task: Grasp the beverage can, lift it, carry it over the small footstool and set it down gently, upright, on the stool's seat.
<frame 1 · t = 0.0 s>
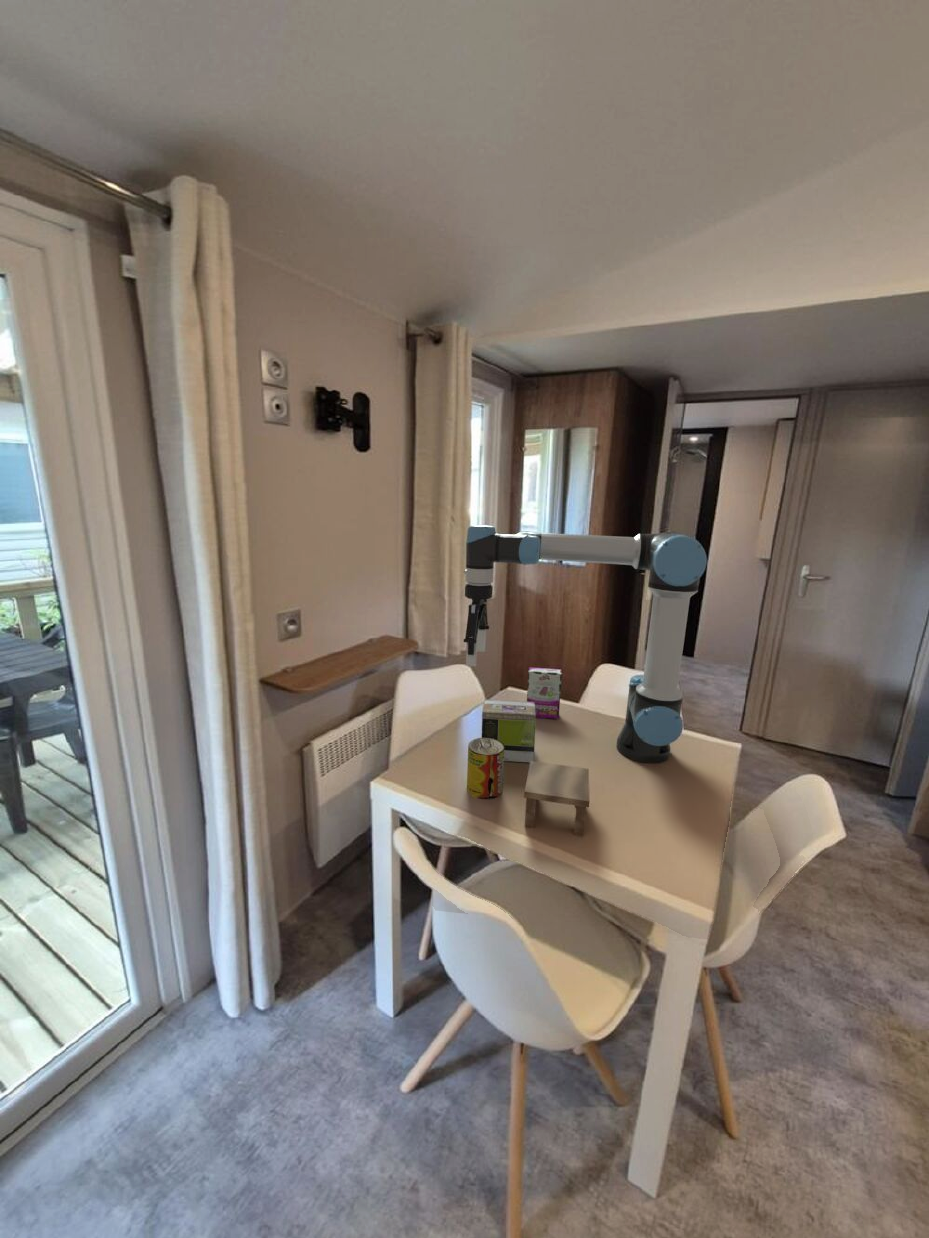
hand: (476, 658, 143), 28 cm above the table, fingers open, 13 cm apart
beverage can: (484, 789, 129), on the table
tea box: (506, 754, 147), on the table
candy bar box: (542, 716, 174), on the table
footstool: (555, 814, 120), on the table
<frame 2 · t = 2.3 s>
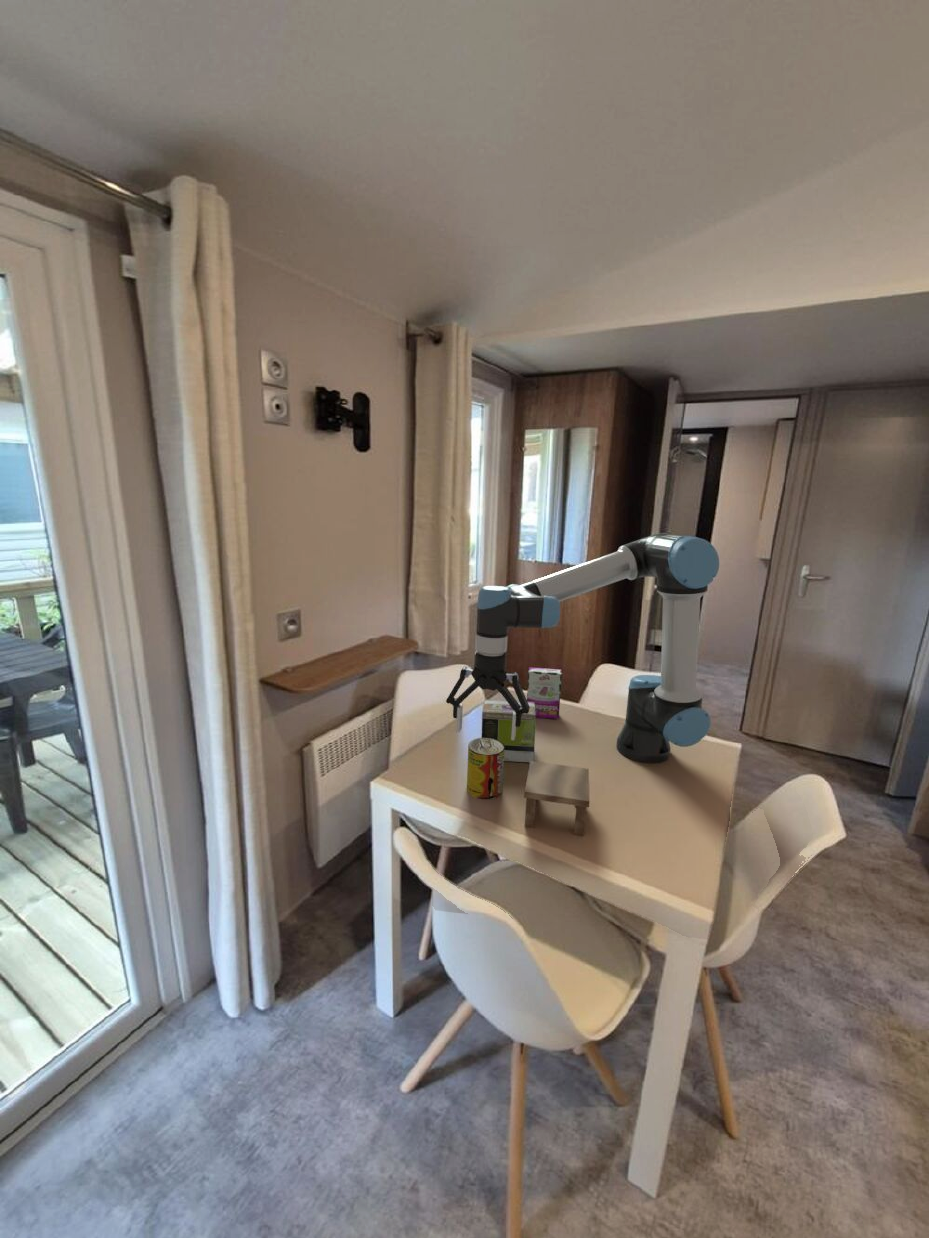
hand: (485, 734, 125), 15 cm above the table, fingers open, 13 cm apart
nothing on the table moved.
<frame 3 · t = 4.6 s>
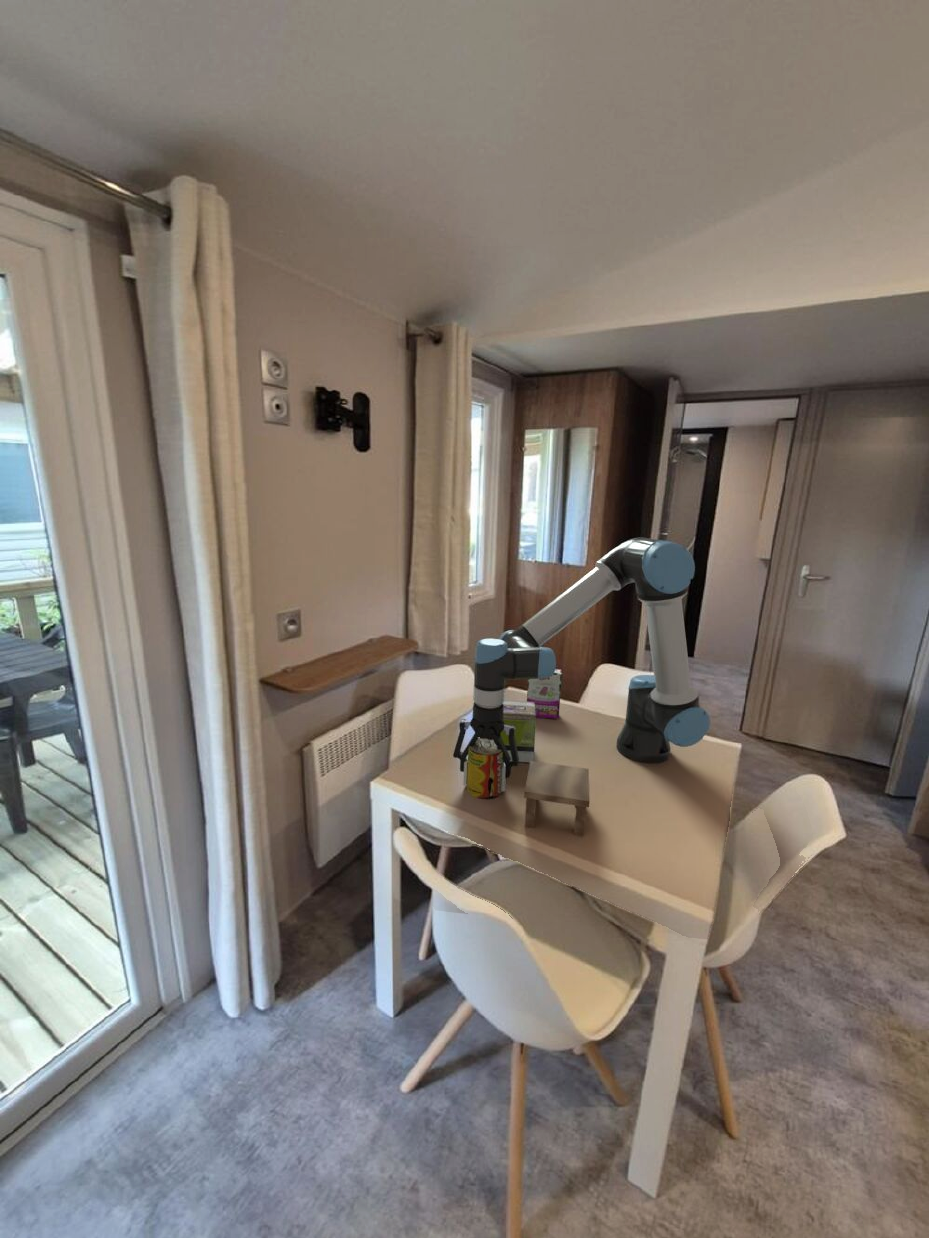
hand: (484, 785, 129), 1 cm above the table, fingers closed on beverage can, 9 cm apart
beverage can: (484, 789, 129), on the table, touching gripper
everything else where it was.
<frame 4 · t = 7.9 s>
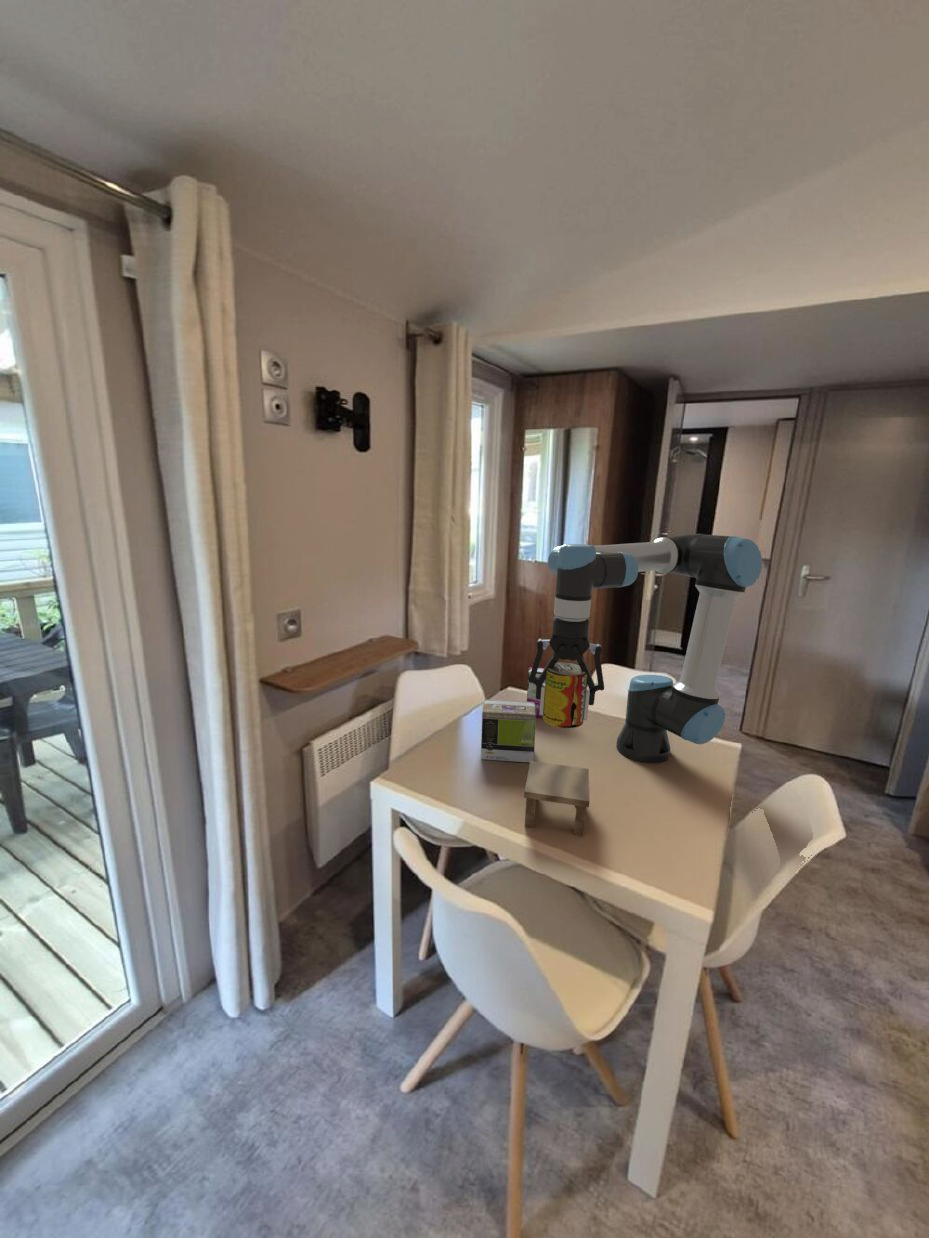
hand: (563, 715, 114), 25 cm above the table, fingers closed on beverage can, 9 cm apart
beverage can: (562, 720, 114), point 24 cm above the table, touching gripper
everything else where it was.
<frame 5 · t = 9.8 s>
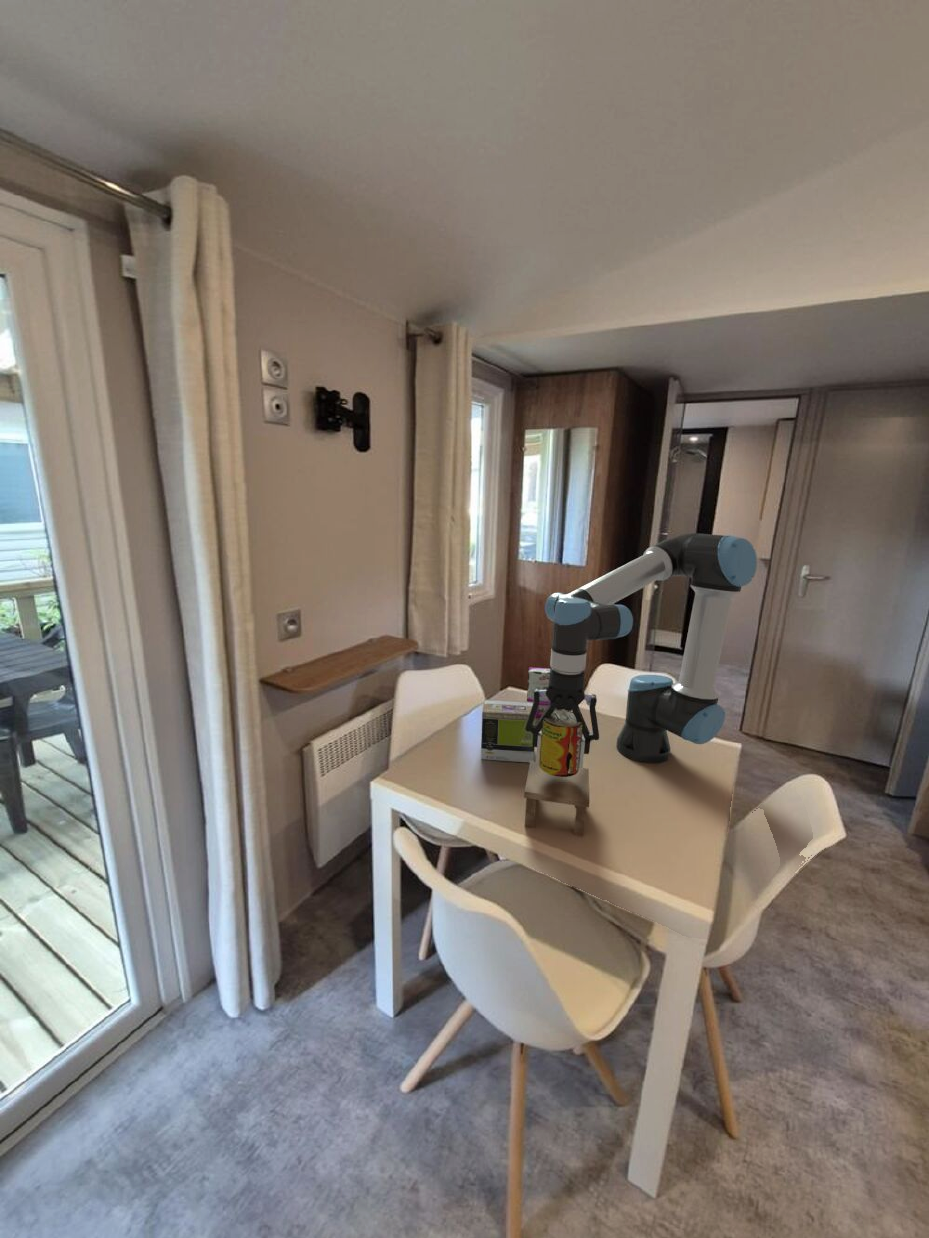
hand: (559, 762, 116), 13 cm above the table, fingers closed on beverage can, 9 cm apart
beverage can: (558, 767, 117), point 12 cm above the table, touching gripper
everything else where it was.
when the fingers open (11 cm above the table, at t = 11.3 s): beverage can stays where it is, resting on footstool.
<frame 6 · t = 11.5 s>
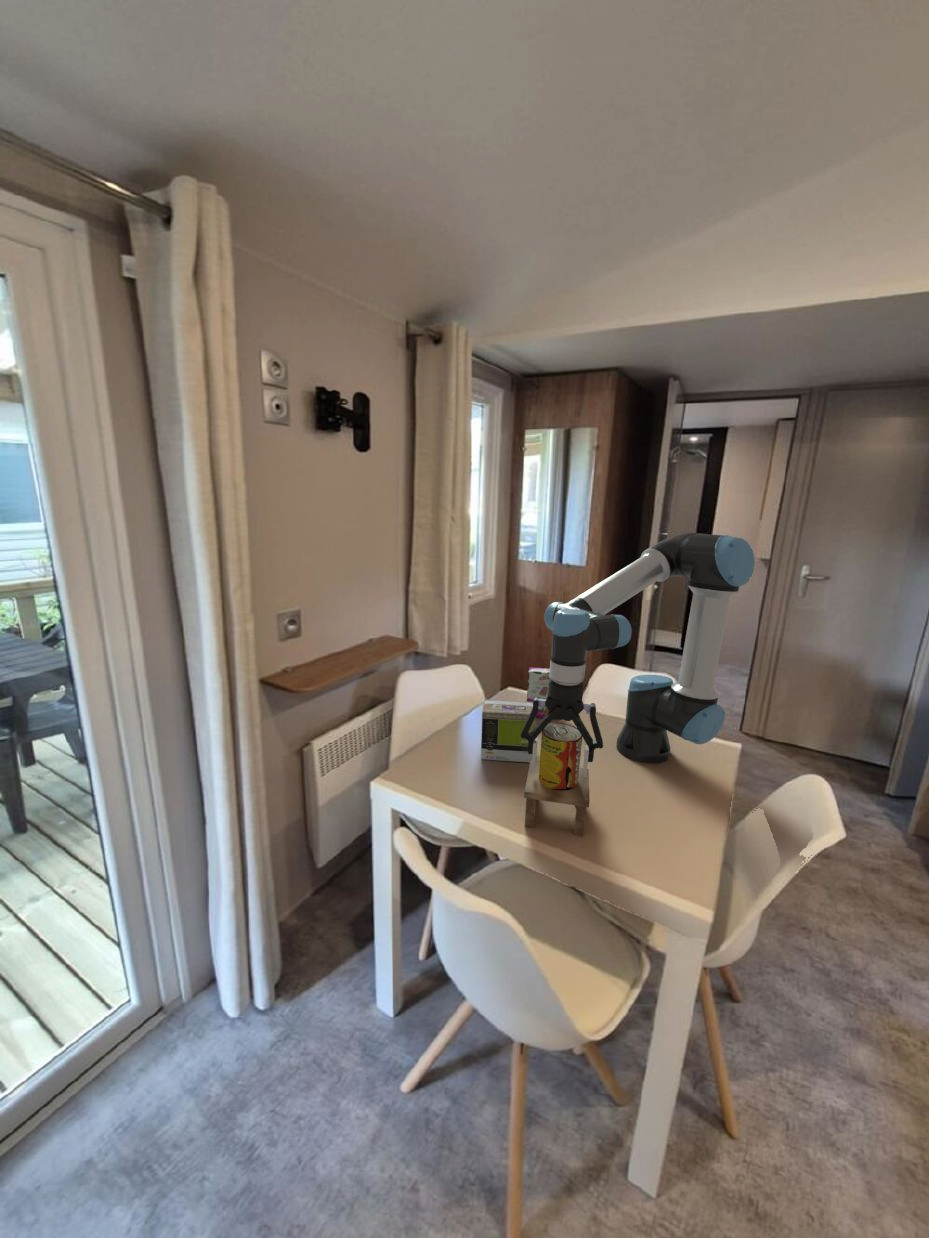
hand: (558, 769, 117), 11 cm above the table, fingers open, 11 cm apart
beverage can: (558, 780, 118), point 9 cm above the table, touching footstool
everything else where it was.
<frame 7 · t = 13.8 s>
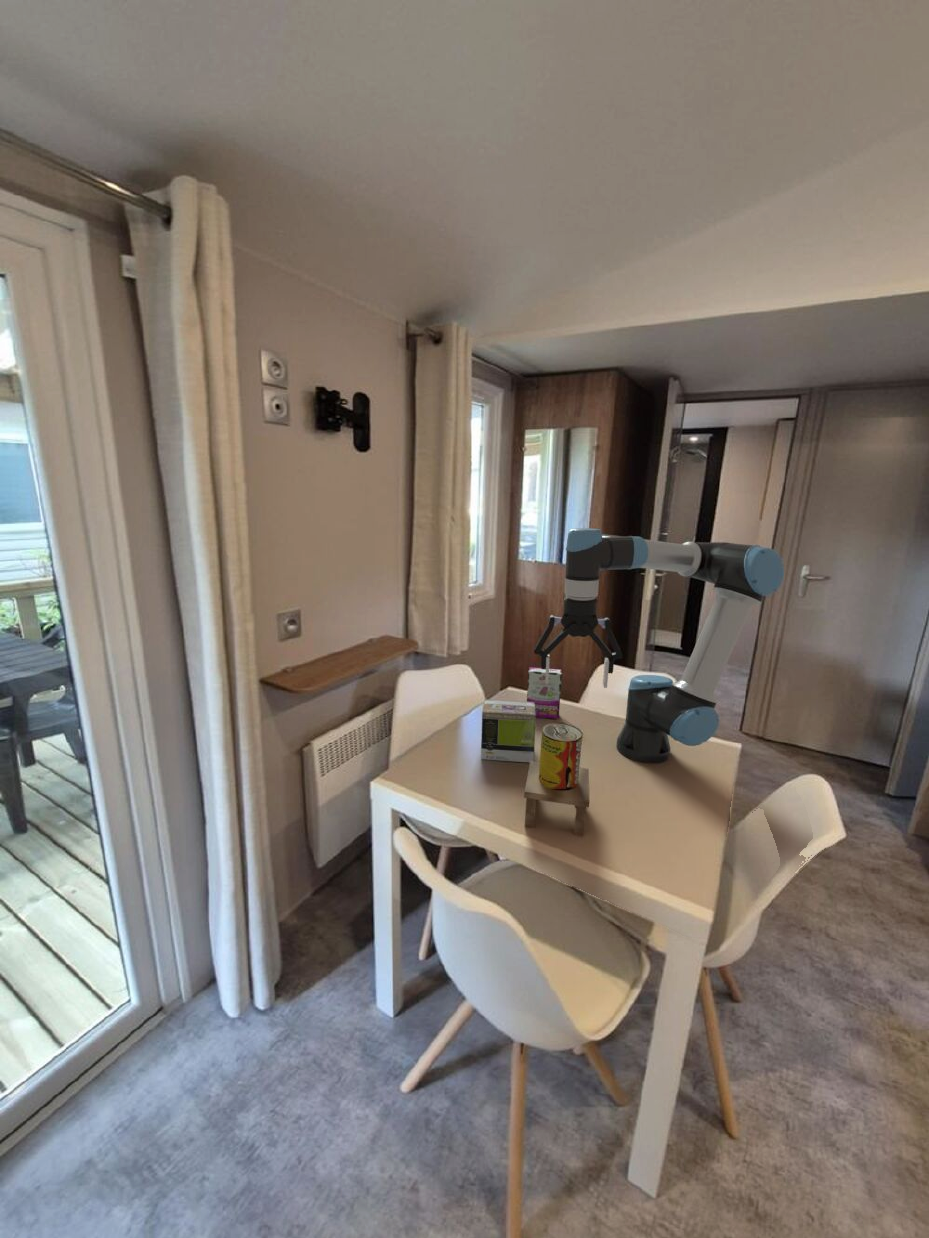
hand: (575, 683, 122), 29 cm above the table, fingers open, 13 cm apart
nothing on the table moved.
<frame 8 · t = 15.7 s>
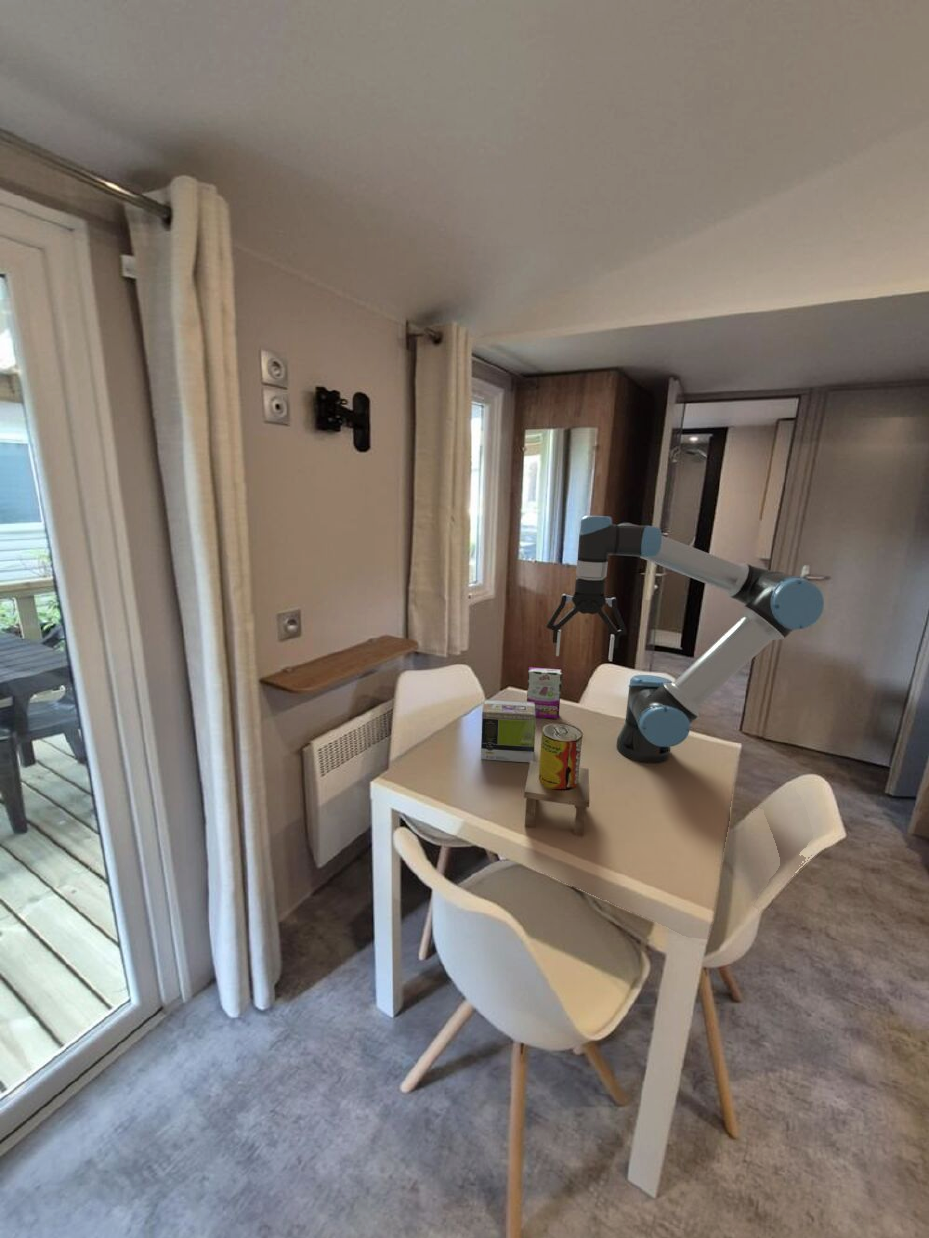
hand: (583, 657, 134), 32 cm above the table, fingers open, 13 cm apart
nothing on the table moved.
at the end: beverage can inside the target area on the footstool (0.0 cm from its centre), point 8.8 cm above the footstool's base; beverage can tilted 0°; the gripper is holding nothing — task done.
